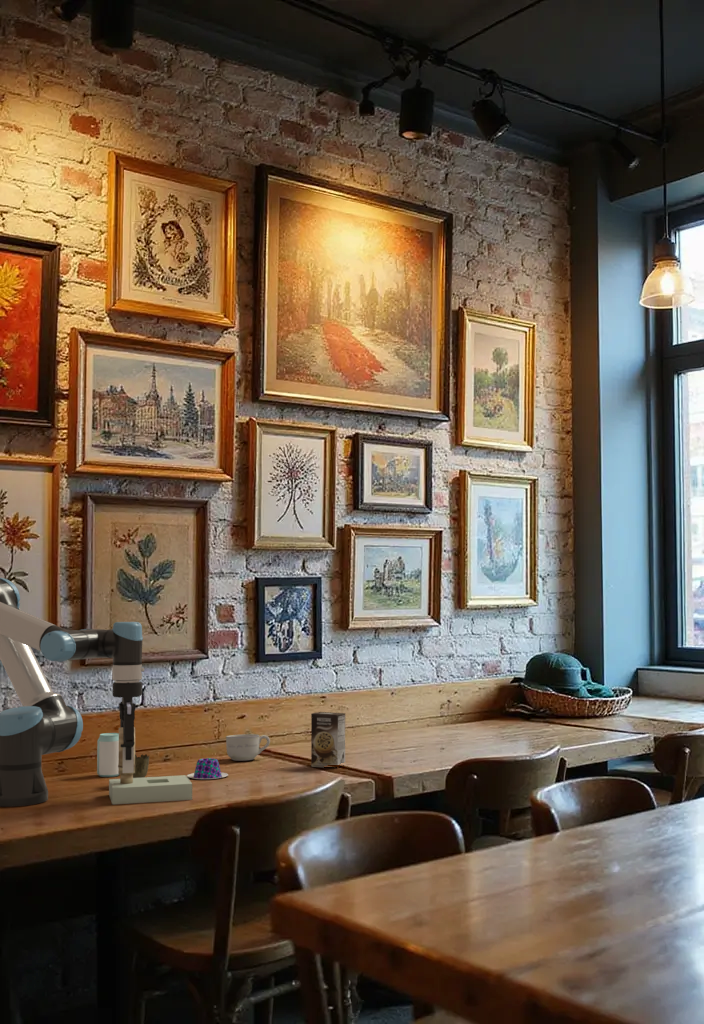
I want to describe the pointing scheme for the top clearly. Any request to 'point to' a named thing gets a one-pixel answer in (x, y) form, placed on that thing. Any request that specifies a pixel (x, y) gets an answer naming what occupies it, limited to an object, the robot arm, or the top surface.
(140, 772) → the cup
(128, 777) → the peg
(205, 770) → the pudding
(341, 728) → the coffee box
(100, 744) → the can
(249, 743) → the teacup
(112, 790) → the board
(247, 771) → the top surface
